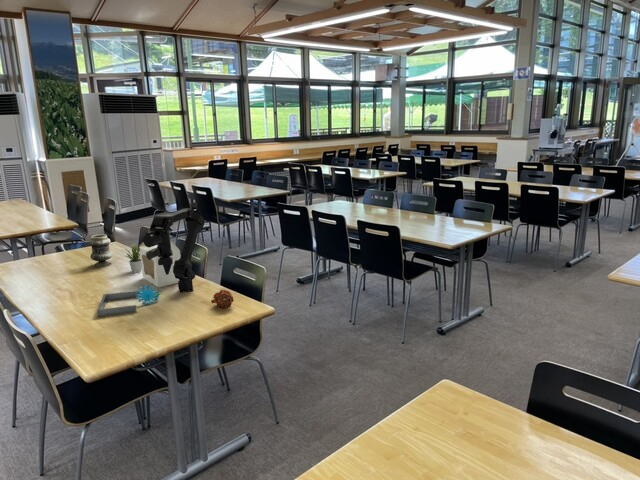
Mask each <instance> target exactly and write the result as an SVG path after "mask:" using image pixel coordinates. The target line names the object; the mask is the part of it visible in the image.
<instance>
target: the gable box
mask: <svg viewBox="0 0 640 480" xmlns="http://www.w3.org/2000/svg"><path fill="white" fill-rule="evenodd" d="M149 229H150V228H149ZM149 229H148V231H149ZM170 242H171V250H172V253H173V256H170V257H172V258H173V264H172V265H171V268H170V271H169V274H168V275H166V273H165V270H164V267H163V265H158V259H159V258H160V257H158V256H156V257H154V258H152V259H151V260H148V258H147V256H146V252H147V251H149V250H152V249H154V248H157V245H156V246H153V247H146V246H145V245H144V243H143V242H141V244H140V245H141V246H140V245H139V246H140V247H139V246H138V247H139V248H140V249H139V250H140V251H139V255H140V256H139V257H141V258H140V259H141V265H142V271H141V273H142V278H143V279H144V280H146V281H147V282H149V283H151V284H153V285H154V286H156V287H158V288H162V287H166V286H169V285H173V284H174V283H175V284H178V281H179V279H176V278H175V276H174V273H173V266H174V263H175V260H179V259H180V257H181V251H180V249H179V248H178V247H177V246H176V244H175V243H174V242H173V241H172V240H171V239H170Z"/></svg>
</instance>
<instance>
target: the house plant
mask: <svg viewBox="0 0 640 480" xmlns="http://www.w3.org/2000/svg"><path fill="white" fill-rule="evenodd" d="M140 246H141V244H139V246H138V247H137V246H136V244H135V243H134V242H133V244H131V247H130V249H131V251H130V250H128V249H127V248H126V247H122V249H124V250H125V251H126V255H125V256H124V257H126V258H129V260H128V263H129V265H130V270H131V272H132V273H139V272H142V271H141V270H142V265H141V257H140V248H139V247H140ZM127 252H128V253H127ZM131 252H132V253H131Z"/></svg>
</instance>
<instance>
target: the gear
mask: <svg viewBox="0 0 640 480" xmlns="http://www.w3.org/2000/svg"><path fill="white" fill-rule="evenodd" d="M148 287H149V288H148ZM143 288H144V289H143ZM136 291H137V293H139V294H137V295H136V298H138V302H141V304H142V305H145V304H146V303H147V306H150V305H151V303H152V304H156V303H157V302H156V301H158V299H159V297H160V295H161V294H162V293H161V291H159V292H157V291H158V290H157V288H154V289H153V286H151V285H150V286H148V285H146V284H145V285H144V287H143V286H140V287H139V289H138V290H136ZM151 301H152V302H151Z"/></svg>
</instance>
